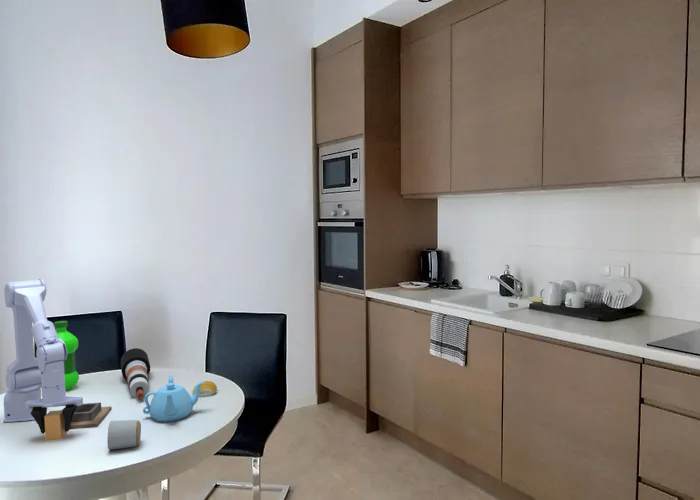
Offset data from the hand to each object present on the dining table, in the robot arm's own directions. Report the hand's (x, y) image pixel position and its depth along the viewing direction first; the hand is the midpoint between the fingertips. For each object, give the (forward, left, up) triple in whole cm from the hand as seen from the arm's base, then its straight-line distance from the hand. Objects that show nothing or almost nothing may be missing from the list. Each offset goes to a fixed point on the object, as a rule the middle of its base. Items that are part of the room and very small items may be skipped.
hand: (55, 431), depth 143 cm
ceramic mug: (+21, -9, -2) cm, 23 cm away
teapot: (+31, +10, -2) cm, 33 cm away
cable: (+13, +40, -2) cm, 42 cm away
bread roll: (+38, +29, -2) cm, 48 cm away
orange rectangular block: (0, 0, -2) cm, 2 cm away
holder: (+3, +12, -2) cm, 12 cm away
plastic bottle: (-14, +44, -2) cm, 46 cm away
